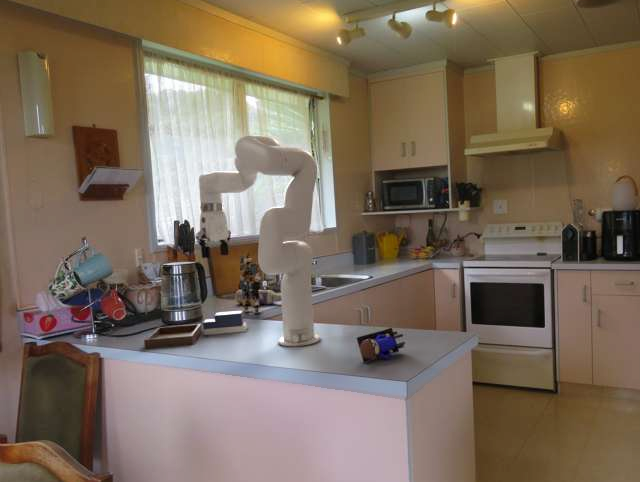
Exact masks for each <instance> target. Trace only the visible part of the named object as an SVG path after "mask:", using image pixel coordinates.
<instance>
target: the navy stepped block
mask: <svg viewBox="0 0 640 482" xmlns="http://www.w3.org/2000/svg"><path fill="white" fill-rule="evenodd" d="M202 326H203V336H210V335H220V334H232V333H233V334H234V333H245V332H246V330H247V322H244V313H243V310H233V311H232V310H231V311H220V312H216V313H215V314H214V318H208V319H207V318H206V319H204V320H203V322H202Z"/></svg>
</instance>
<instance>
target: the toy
mask: <svg viewBox="0 0 640 482" xmlns="http://www.w3.org/2000/svg"><path fill="white" fill-rule="evenodd" d="M252 259H253V257H250V253H248V252H247V255H246V257H244V256H240V261H239V264H241V265H239V268H238V272H239V274H241V275H240V279H241V280H240V281H239V284H238V285H237V287H238V290H242V295H243V298H245V300H243V301H242V302H243V303H242V307H243V310H242V312H243V314H249V313H253V314H252V316H254V315H260V314H263V311H259V310H260V309H261V308H262V306H261V304H260V302H259V301H258V299H259V291H258V290H261V282H260V281H261V279H262V278H261V277H262V276H259V274H260V273H261V272H260V270H259V268H260V266H259V263H258V262H256V261H252ZM250 290H251V291H250ZM244 292H245V293H244ZM252 293H253V294H252ZM248 296H249V297H248ZM250 296H251V298H252V299H253V300H255V301H254V302H251V304H250V301H249V300H248V299H249V298H250ZM246 303H249V304H246ZM250 307H252V309H253V310H249V308H250Z"/></svg>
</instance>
